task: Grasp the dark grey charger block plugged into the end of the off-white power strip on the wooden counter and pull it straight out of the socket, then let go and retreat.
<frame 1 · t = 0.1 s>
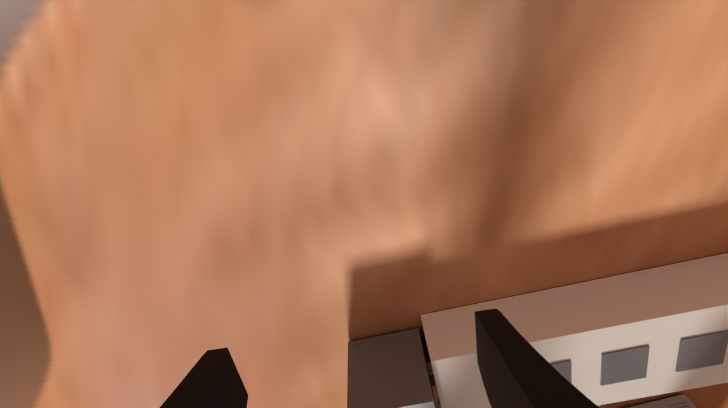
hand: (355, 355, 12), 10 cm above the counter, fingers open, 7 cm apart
charger: (411, 391, 23), point 3 cm above the counter, slide at 0.0 cm
power strip: (572, 322, 24), on the counter
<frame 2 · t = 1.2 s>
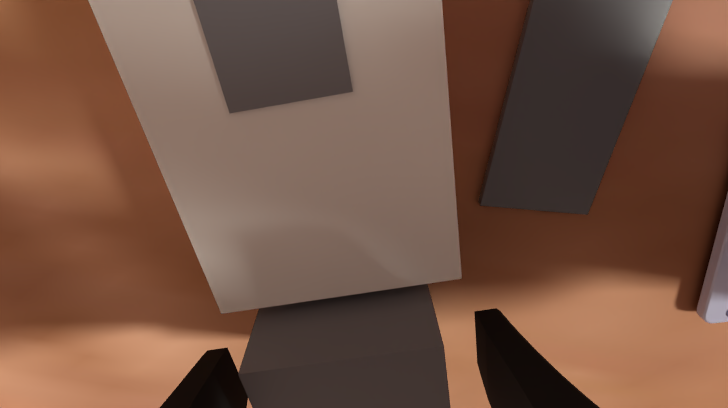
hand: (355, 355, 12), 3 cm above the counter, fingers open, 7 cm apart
charger: (350, 319, 11), point 3 cm above the counter, slide at 0.0 cm
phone: (558, 92, 12), on the counter
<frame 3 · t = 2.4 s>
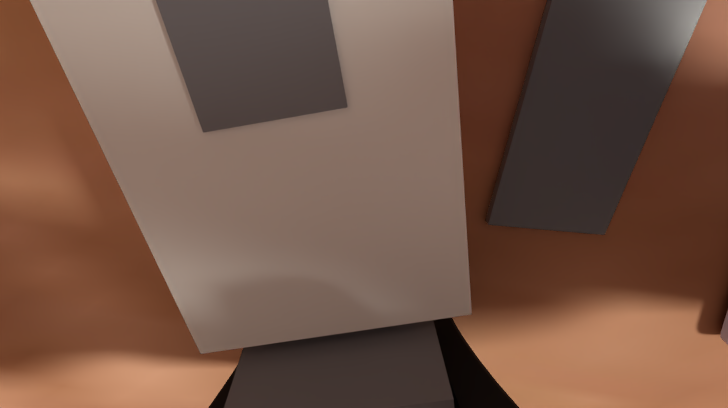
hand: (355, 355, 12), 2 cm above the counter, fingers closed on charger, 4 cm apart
charger: (347, 355, 10), point 3 cm above the counter, slide at 0.0 cm, touching gripper
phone: (574, 101, 11), on the counter
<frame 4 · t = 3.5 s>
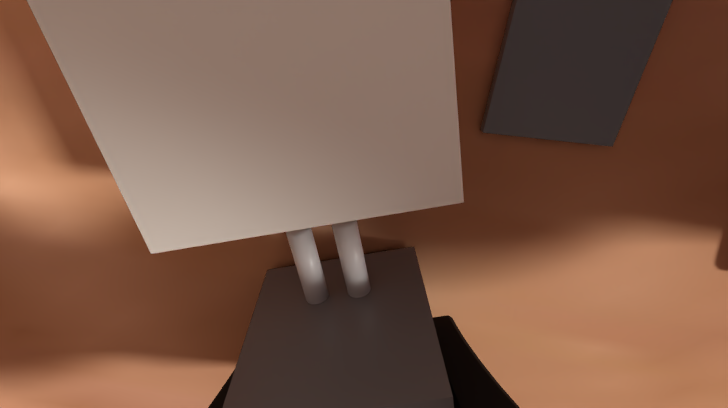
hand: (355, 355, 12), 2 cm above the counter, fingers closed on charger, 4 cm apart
charger: (346, 353, 10), point 3 cm above the counter, slide at 2.6 cm, touching gripper
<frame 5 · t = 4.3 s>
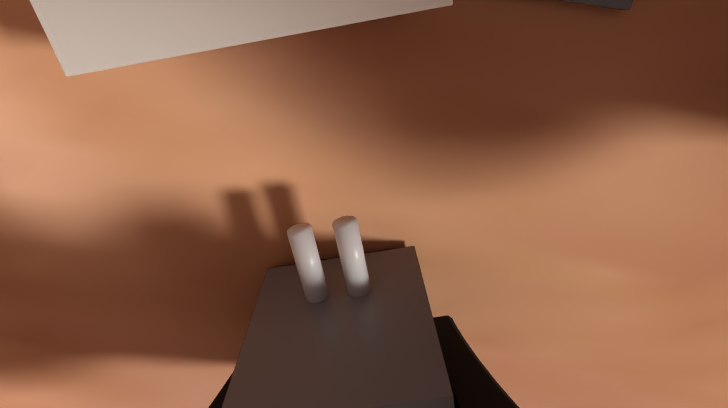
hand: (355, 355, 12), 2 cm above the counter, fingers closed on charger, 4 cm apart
charger: (346, 352, 10), point 3 cm above the counter, slide at 5.9 cm, touching gripper
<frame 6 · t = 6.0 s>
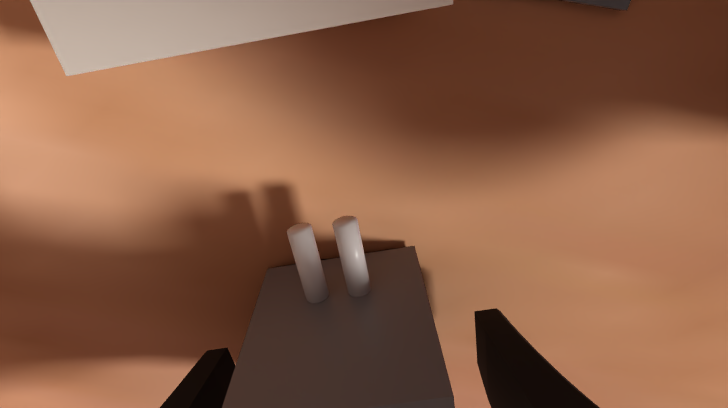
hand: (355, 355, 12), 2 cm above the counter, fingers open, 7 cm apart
charger: (346, 352, 10), point 3 cm above the counter, slide at 5.9 cm
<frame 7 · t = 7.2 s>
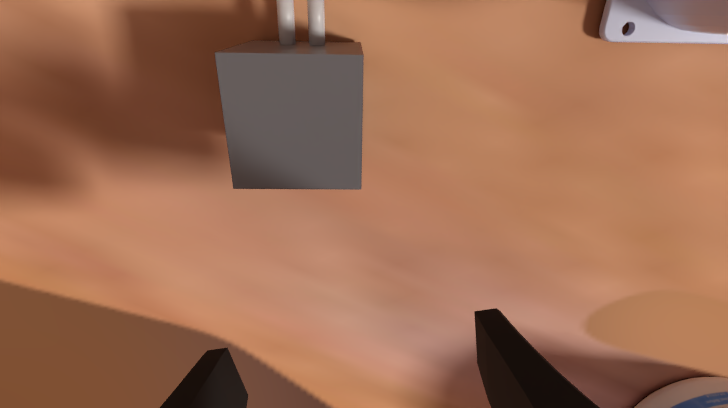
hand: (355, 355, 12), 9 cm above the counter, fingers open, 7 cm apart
charger: (301, 81, 15), point 3 cm above the counter, slide at 5.9 cm
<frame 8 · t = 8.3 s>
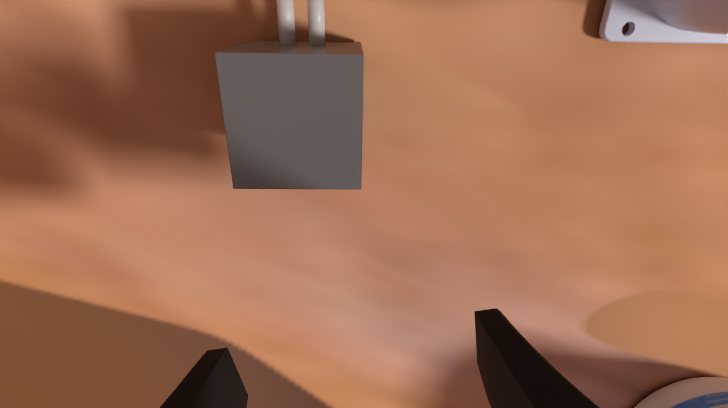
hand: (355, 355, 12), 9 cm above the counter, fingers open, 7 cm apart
charger: (301, 81, 15), point 3 cm above the counter, slide at 5.9 cm
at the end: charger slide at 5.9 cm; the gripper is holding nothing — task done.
